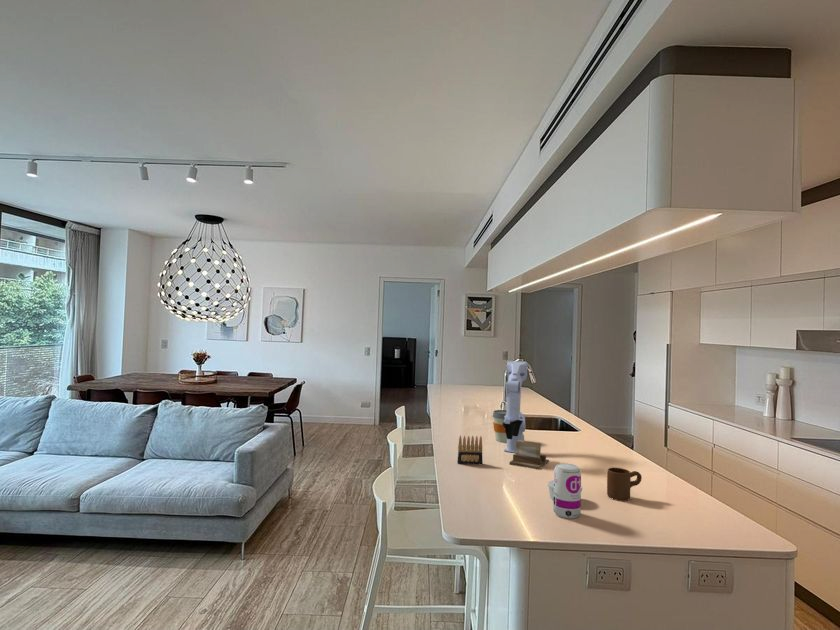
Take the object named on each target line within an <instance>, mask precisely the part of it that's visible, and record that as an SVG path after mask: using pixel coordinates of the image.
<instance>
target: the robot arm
mask: <svg viewBox="0 0 840 630" xmlns="http://www.w3.org/2000/svg"><path fill="white" fill-rule="evenodd" d="M506 372H507V378H508V379H507V381H506V383H505V392H506V394H505V395H506V410H507V414H506V415H505V416H504V418H505V420H504V422H503V426H504V429H505V432H506V436H507V443H506V448H505V449H503V451H504V452H508V453H514V454H516V442H517V441H518V440H519V441H525V435H524V433H525V432H526V416H525V414H524V413H522V412H521V402H522V401H521V397H522V396H521V395H522V385H523V382H524V381H526V380H527V377H528V376H527V375H528V362H527V361H513V360H508V361H507V364H506Z"/></svg>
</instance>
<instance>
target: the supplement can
mask: <svg viewBox="0 0 840 630" xmlns="http://www.w3.org/2000/svg"><path fill="white" fill-rule="evenodd" d="M581 471H582V470H580V467H579V466H578V465H576V464H572V463H563V462H562V463H558V464H555V467H554V469H553V480H554V501H553V505H552V507H553V512H554V513H555V515H556V516H557V517H560V518H564V519H569V518H570V519H571V520H572V518H573V519H577V518H578V517H579V516H580V515H581V514H582V513H581V510H582V509H581V508H582V507H581V505H582V501H581V500H582V496H581V495H582V491H581V486H582V472H581ZM570 519H569V520H570Z"/></svg>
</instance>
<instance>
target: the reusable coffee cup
mask: <svg viewBox="0 0 840 630" xmlns="http://www.w3.org/2000/svg"><path fill="white" fill-rule="evenodd" d="M492 412H493V413H492V417H493V423H492V424H493V425H492V426H493V432H494V434H495V441H496V442H498V443H504V444H505V443H506V444H507V436H506V432H505V429H504V426H503V422H504V420H505V418H504V416H505V415H506V414H507V409H496V410H495V409H494V410H493V411H492Z"/></svg>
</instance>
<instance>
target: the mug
mask: <svg viewBox="0 0 840 630" xmlns="http://www.w3.org/2000/svg"><path fill="white" fill-rule="evenodd" d="M606 474H607V475H606V495H607V497H608V498H609V499H611V498H613V499H612V500H615V499H617V500H616V501H620V500H626V501H629V500H630V498H631V488H633V487H635V486H638V485H639V484H640V483H641V482H642V479H643V478H642V477H643V476H642V474H641V473H640V472H639V471H637V470H636V471H635V470H632V471H630V470H628V469H625V468H621V467H609V468H607V473H606ZM634 477H636V479H635V480H631V478H634ZM628 499H629V500H628Z"/></svg>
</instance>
